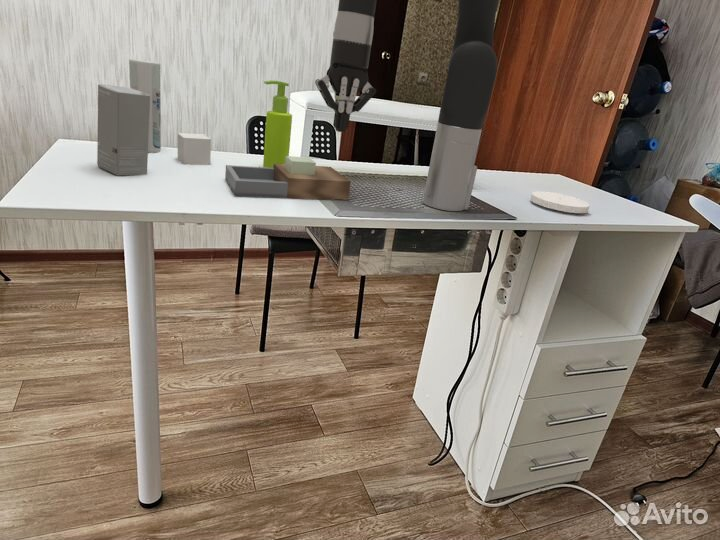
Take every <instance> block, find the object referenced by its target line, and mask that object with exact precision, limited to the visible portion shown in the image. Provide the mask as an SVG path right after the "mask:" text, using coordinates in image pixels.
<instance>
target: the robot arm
mask: <svg viewBox="0 0 720 540" xmlns="http://www.w3.org/2000/svg"><path fill="white" fill-rule="evenodd" d="M499 3H500V0H458V14H457V25H456V31H455V34H454V35H455V36H454V41H453V47H452V50H451V55H450V58H449V61H448V66H447V67H448V69H447V74H446V79H445V85H444V90H443V95H442V101H441V105H440V110H439V112H438V113H439V114H438V119H437V126H436V129H435V136H434V140H433V141H434V142H433V146H432V152H431V157H430V161H429V167H428V171H427V178H426V181H425V182H426V183H425V186H424V187H425V188H424V192H423V198H422V203H423V204H425V205H426V206H429V207H430V208H435V209H436V210H437V209H438V210H442V211H448V212H461V211H464V210H468V209H469V207H470V203H471V202H470V201H471V197H472V195H473V194H472V193H473V189H474V184H475V181H476V175H477V172H478V166H477V165H475V161H476V158H477V154H478V153H477V152H478V149H479V144H480V140H481V139H480V138H481V136H482V135H481V134H482V131H483V127H484V122H485V119H486V116H487V114H488V110H489V106H490V101H491V98H492V94H493V90H494V85H495V82H496V77H497V72H498V58H497V54H496V53H495V50H494V33H495V32H494V31H495V23H496V22H495V20H496V15H497V11H498V6H499ZM376 6H377V0H338V6H337V15H336V18H335V22H334V29H333V32H332V33H333V34H332V37H333V38H332V45H331V52H330V53H331V54H330V63H329V68H328V69H327V71H326V75H324V76H323V77H321V78H317V79H315V82H314V83H315V86H316V88H317V90H318V91H319V93H320V95H321V97H322V98H323V101H324V102H325V104H326V106H327V107H329V108H330V109H332V110H333V111H334V116H333V123H332V124H333V128H334V129H335V132H338V133H345V132H346V130H347V131H348V128H349V124H350V118H351V114H352V113H356V112H360V110H362V109H363V107H364V106H365V105H367V104H368V102H369V101H370V100H371V99H372V98H373V97H374V96H375V95H376V94H377V89H376V87H373V86H372V85H371V83H370V82H369V76H368V69H369V63H370V57H371V49H372V44H373V43H372V42H373V36H374V29H375V27H374V21H375V13H376ZM330 86H331V88H332V90H333V92H334V98H333V96H332V94H331V92H330V90H329V87H330ZM360 92H362V93H361V94H360ZM358 94H359V96H358V97H357V95H358Z"/></svg>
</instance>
